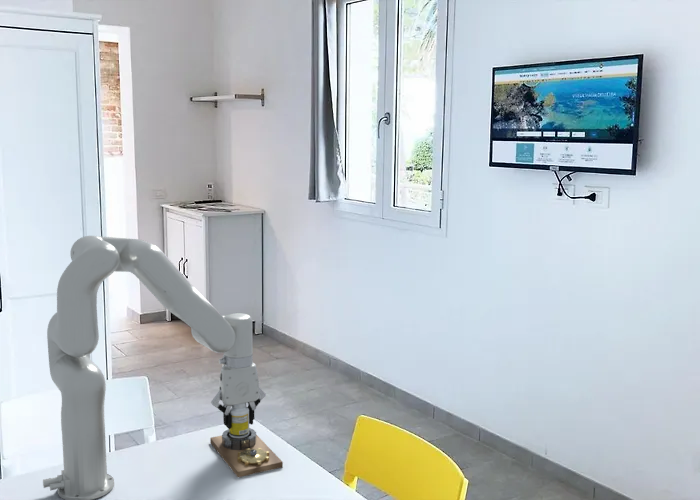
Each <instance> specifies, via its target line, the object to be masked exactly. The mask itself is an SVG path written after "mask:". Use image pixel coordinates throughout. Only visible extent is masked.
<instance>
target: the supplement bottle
mask: <svg viewBox="0 0 700 500" xmlns="http://www.w3.org/2000/svg"><path fill="white" fill-rule="evenodd" d="M230 414H231V429H229V434H230V436H231V437H232V438H245V437H247V436H248V435H249V428H250V424H249V409H248V406H247V403H243V404H237V405H232V406H231V409H230Z"/></svg>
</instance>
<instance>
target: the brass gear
mask: <svg viewBox="0 0 700 500" xmlns="http://www.w3.org/2000/svg"><path fill="white" fill-rule="evenodd" d="M265 461H266V462H268V461H269V452H268V451H266V452H265V451H263V450H262V448H258V449H250V448H248V449H246V450H245V451H243V452H239V453H238V458H237V462H238V463H240V462H242V463H244V464H245V466H249V465H258V466H259V465H261V463H263V462H265Z"/></svg>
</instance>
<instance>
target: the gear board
mask: <svg viewBox="0 0 700 500" xmlns="http://www.w3.org/2000/svg"><path fill="white" fill-rule="evenodd" d="M233 439H244V438H233ZM210 444H211V446H212V447H213V448H214V450H216V452H217V453H218V454H219V456H220V457H221V458H222V459H223V461H224V462H225V463H226V465H227V466H228V467H229V468H230V470H231V471H232V472H233V474H235V476H236V478H242V477H246V476H251V475H255V474H256V475H257V474H258V473H263V472H268V471H272V470H276V469H281V468H283V467H284V466H283V463H284V462H283V461H282V460H281V458H279V456H278V455H276V453H275V452H274V451H273V450H272V449H271V448H270V446H268V445H267V444H266V443H265V442H264V441H263V440H262V439H261V438H260V436H258V435H257V434H256V444H255V445H254V446H253V447H251V448H250V449H258V448H262V450H263V451H265V452H266V451H268V452H269V461H268V462H266V461H265V462H263V463H261V465H259V466H258V465H249V466H245V464H244V463H242V462H240V463H238V462H237V458H238V453H239V452H243V451H245V450H246V449H244V450H231V449H227V448H225V447H224V446H223V445H222V435H217V436H213V437H212V436H211V437H210Z"/></svg>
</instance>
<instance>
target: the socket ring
mask: <svg viewBox="0 0 700 500" xmlns="http://www.w3.org/2000/svg"><path fill="white" fill-rule="evenodd" d="M256 435H257V432H256V430H255V429H253V428H251V427H249V435H248V436H247V437H245V438H244V439H233V438H232V437H231V436H230V434H229V429H228V428H227V429H226V430H225V431H223V433H222V435H221V436H222V445H223V446H224V447H225V448H227V449H231V450H244V449H248V448H251V447H253V446H254V445H255V444H256Z"/></svg>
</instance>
